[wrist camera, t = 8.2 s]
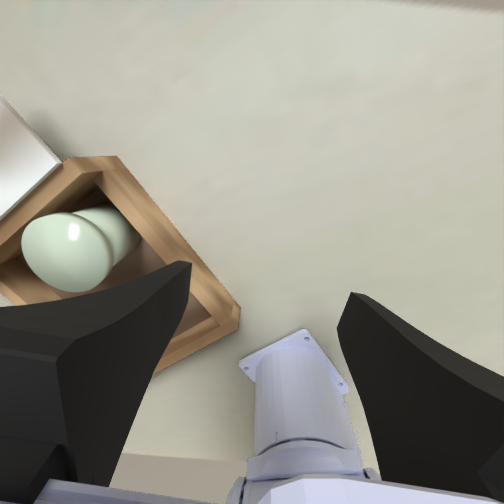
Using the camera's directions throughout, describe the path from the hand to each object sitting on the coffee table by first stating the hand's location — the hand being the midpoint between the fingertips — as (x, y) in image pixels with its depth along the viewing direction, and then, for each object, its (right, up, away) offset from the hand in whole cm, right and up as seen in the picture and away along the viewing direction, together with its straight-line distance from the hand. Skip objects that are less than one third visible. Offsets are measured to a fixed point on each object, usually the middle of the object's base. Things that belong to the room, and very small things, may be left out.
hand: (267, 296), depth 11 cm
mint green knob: (-12, +4, +9) cm, 15 cm away
